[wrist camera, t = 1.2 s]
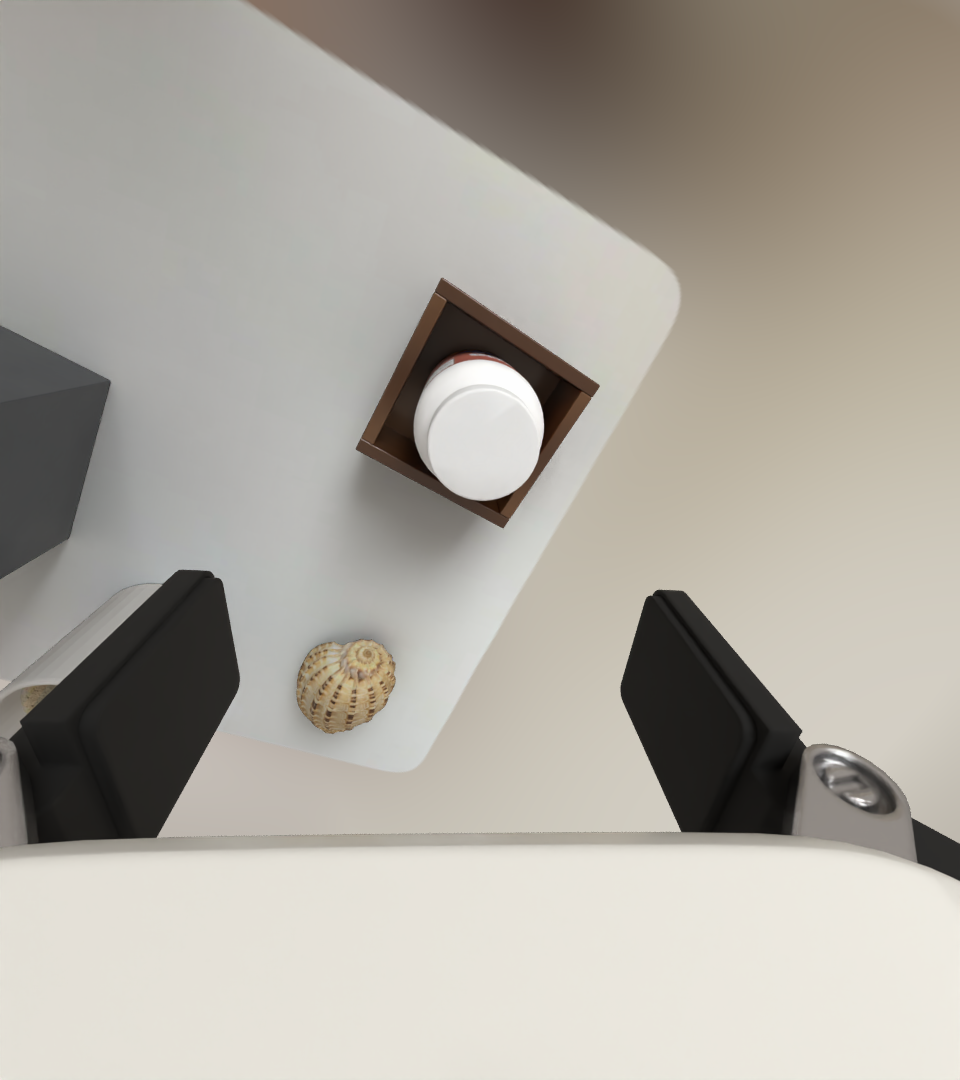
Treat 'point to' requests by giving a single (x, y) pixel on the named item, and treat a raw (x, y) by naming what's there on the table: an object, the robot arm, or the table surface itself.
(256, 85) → the table surface
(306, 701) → the seashell
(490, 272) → the table surface
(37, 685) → the mug
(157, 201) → the table surface
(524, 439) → the pill bottle
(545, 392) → the wooden box
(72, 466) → the block
